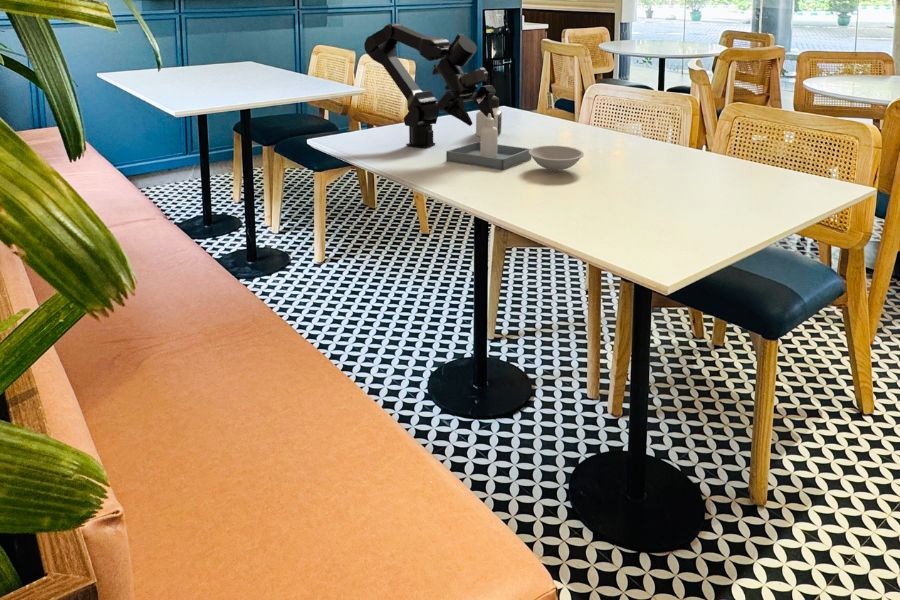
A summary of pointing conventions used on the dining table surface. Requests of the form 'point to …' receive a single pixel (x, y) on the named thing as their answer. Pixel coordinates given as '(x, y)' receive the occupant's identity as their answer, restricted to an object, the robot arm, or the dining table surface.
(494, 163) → the slate tray
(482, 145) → the eye dropper bottle
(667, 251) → the dining table surface
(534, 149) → the dish
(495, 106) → the medicine bottle
